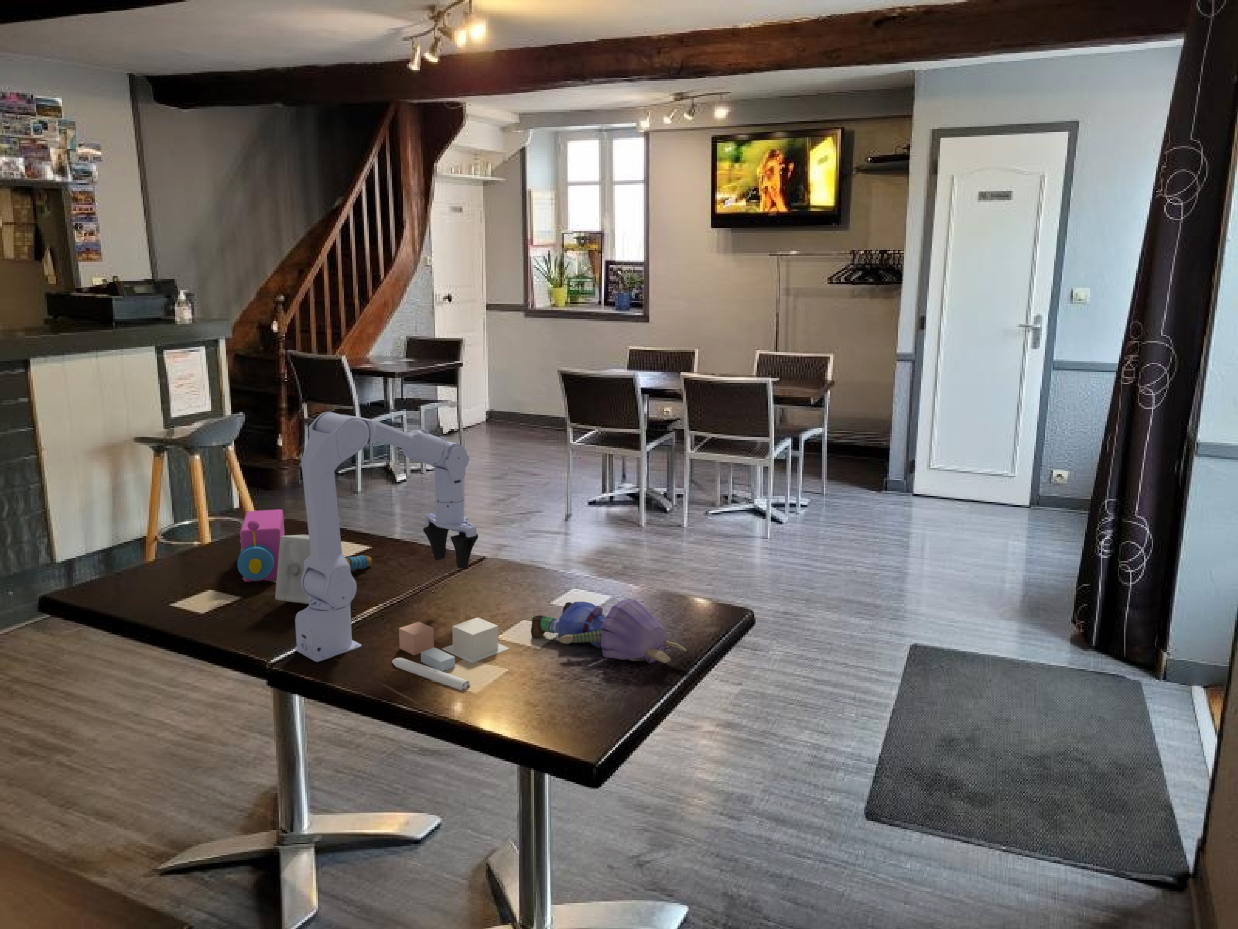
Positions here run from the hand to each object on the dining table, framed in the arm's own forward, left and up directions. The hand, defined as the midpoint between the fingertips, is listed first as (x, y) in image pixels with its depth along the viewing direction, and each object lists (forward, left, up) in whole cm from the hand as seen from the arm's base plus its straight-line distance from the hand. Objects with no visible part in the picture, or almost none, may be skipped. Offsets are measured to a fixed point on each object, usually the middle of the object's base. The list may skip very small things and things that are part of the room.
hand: (451, 563), depth 189 cm
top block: (-17, -12, -10) cm, 24 cm away
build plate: (-10, -20, -10) cm, 25 cm away
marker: (-23, -23, -11) cm, 34 cm away
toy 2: (+8, -38, -11) cm, 40 cm away
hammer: (-10, +30, -10) cm, 33 cm away
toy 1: (-15, +52, -10) cm, 55 cm away
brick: (-19, -20, -10) cm, 30 cm away
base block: (-10, -20, -10) cm, 24 cm away
